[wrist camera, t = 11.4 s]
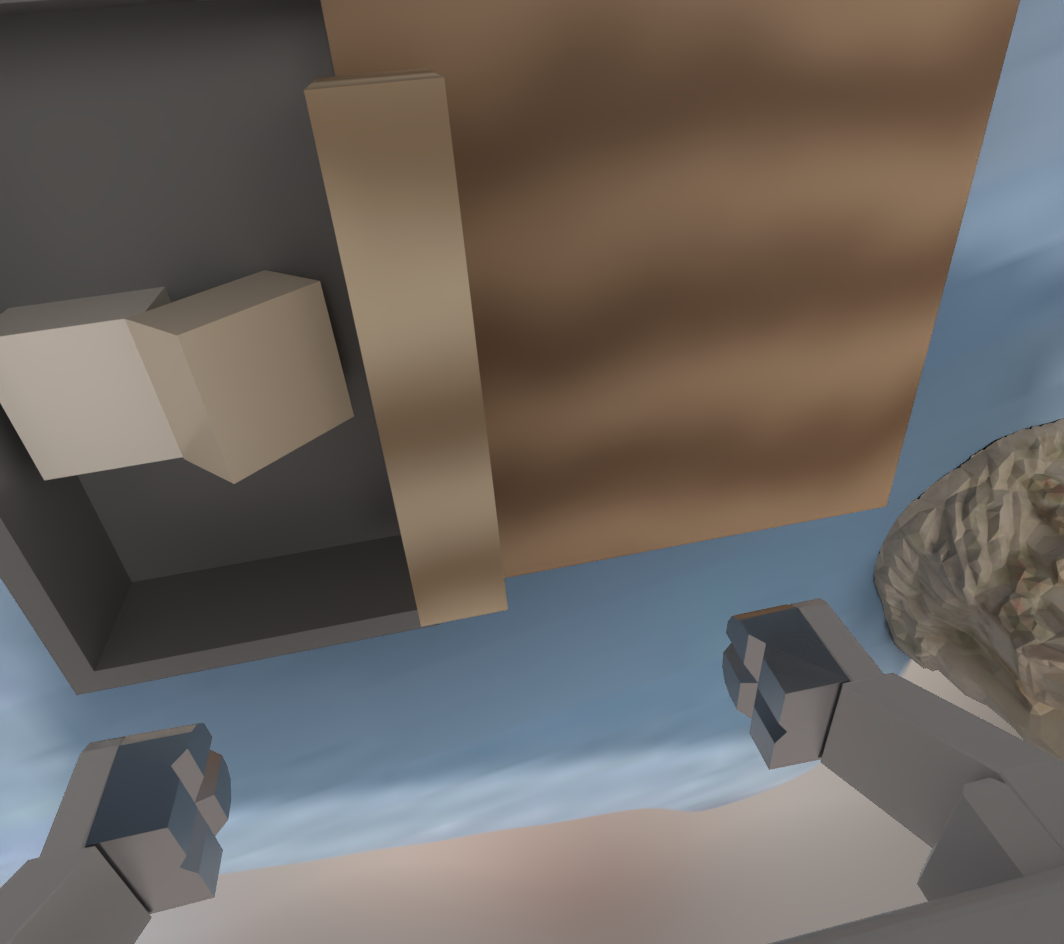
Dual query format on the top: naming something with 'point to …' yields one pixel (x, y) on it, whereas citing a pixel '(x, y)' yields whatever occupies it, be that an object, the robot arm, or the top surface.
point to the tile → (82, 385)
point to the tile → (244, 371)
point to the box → (184, 270)
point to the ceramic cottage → (988, 581)
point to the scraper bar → (414, 325)
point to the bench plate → (696, 245)
